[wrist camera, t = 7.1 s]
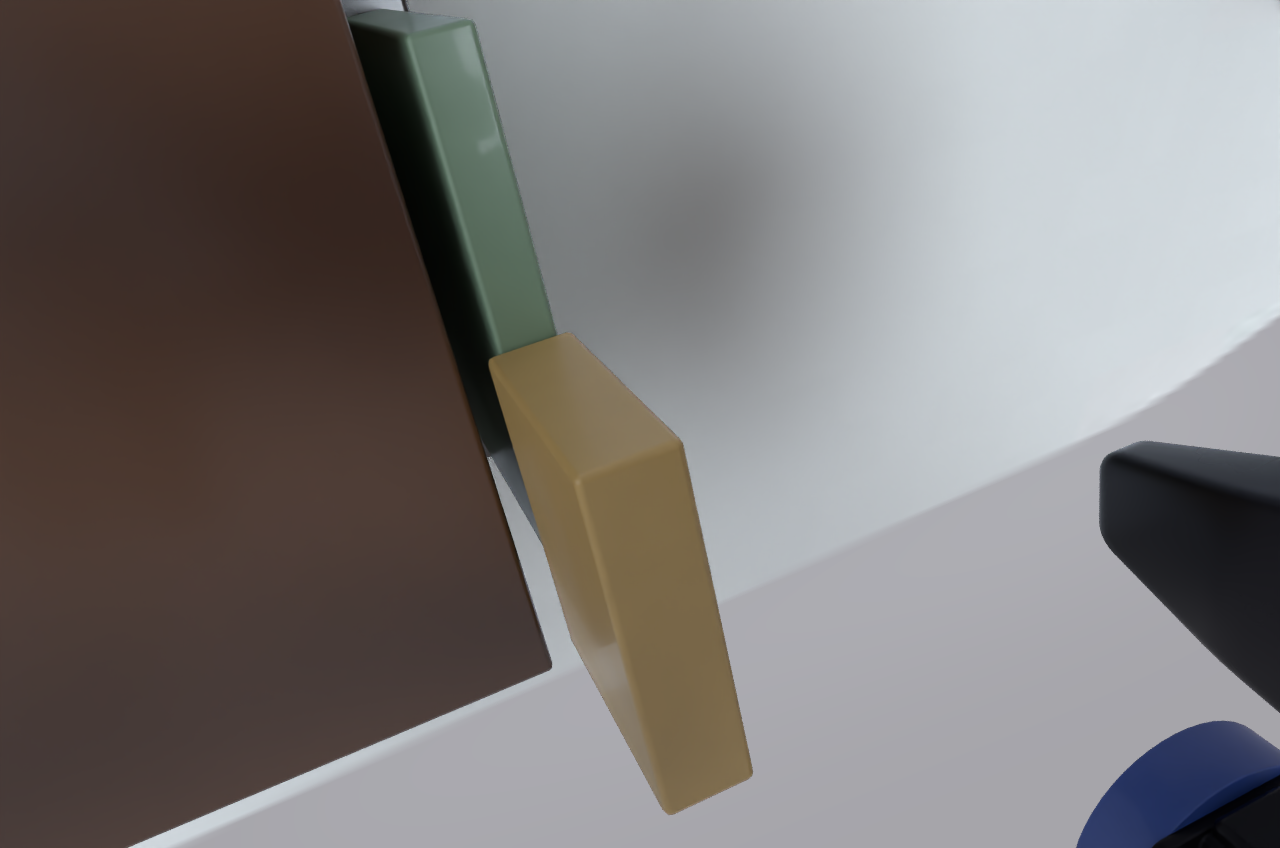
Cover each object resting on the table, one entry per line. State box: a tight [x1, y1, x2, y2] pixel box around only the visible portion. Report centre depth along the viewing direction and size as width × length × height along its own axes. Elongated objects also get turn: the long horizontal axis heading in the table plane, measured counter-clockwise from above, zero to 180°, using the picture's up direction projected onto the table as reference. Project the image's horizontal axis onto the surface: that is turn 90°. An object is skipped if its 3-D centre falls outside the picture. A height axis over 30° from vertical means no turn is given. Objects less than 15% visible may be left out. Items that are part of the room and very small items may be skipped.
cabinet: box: [0, 0, 552, 848], centre depth 12 cm, size 14×10×7 cm
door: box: [347, 9, 753, 815], centre depth 12 cm, size 7×1×9 cm, turn 12°
